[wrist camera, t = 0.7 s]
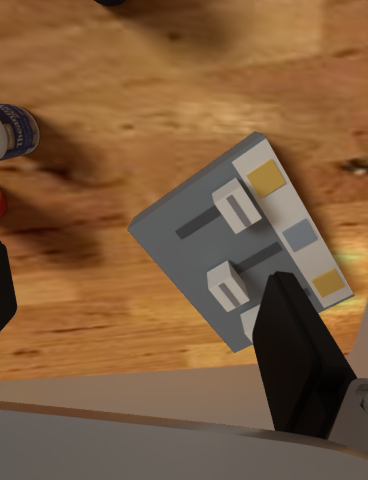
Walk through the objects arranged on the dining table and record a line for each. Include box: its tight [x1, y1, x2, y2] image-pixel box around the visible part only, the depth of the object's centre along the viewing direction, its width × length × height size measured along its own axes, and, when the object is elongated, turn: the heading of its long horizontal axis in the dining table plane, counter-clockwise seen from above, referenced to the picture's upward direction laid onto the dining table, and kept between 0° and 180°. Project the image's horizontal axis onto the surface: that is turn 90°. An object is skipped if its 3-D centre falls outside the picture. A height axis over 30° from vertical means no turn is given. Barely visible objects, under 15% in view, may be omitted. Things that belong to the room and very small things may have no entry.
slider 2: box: [207, 260, 250, 312], centre depth 33 cm, size 3×4×4 cm
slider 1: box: [212, 178, 262, 234], centre depth 28 cm, size 3×4×4 cm
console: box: [127, 132, 354, 353], centre depth 35 cm, size 18×24×4 cm
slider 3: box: [240, 304, 260, 343], centre depth 35 cm, size 3×4×4 cm
